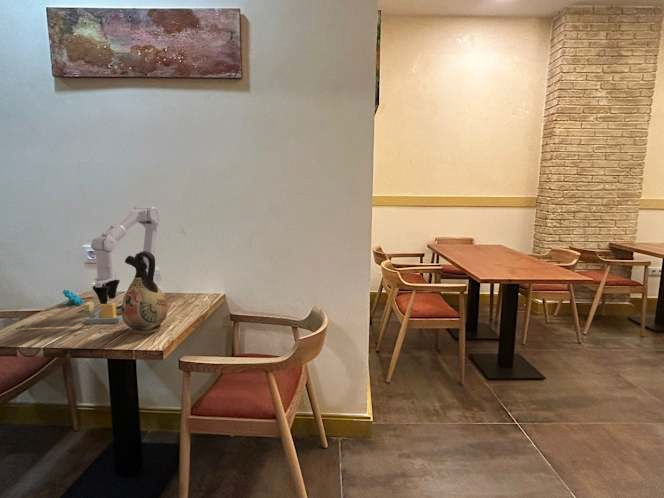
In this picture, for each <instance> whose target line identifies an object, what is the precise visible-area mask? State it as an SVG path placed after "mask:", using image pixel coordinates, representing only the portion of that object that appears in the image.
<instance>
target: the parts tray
mask: <svg viewBox="0 0 664 498" xmlns="http://www.w3.org/2000/svg"><path fill="white" fill-rule="evenodd" d="M121 310H122V308H121V309H116V315H119V316H118V317H116V318H101V310H99V311H97V312H96V313H94V314H90V316H89V317H87V318H85V324H86V325H85V326H86V327H87V326H92V325H95V324H114V325H115V326H116V325H117V326H118V325H120V324H119V323H121V322H122V321H124V320H123V318H122V311H121ZM87 324H88V325H87ZM91 324H92V325H91Z"/></svg>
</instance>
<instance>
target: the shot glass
mask: <svg viewBox="0 0 664 498" xmlns="http://www.w3.org/2000/svg"><path fill="white" fill-rule="evenodd" d="M95 282H96V281H95ZM95 282H91V283H90V286H91V292H92V298H93V299H99V298H98V296H97V294H96V292H95V291H94V290H93V286H95ZM104 285H105V284H104Z"/></svg>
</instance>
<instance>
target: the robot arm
mask: <svg viewBox="0 0 664 498" xmlns="http://www.w3.org/2000/svg"><path fill="white" fill-rule="evenodd" d="M160 217H161V212H160V211H159V209H158V208H157V207H156V206H138V205H135V206H134V207H133V208H131V209H130V212H129V214H128V215H127V216H126V217H125V218H124V219H123V220H122V221H120V222H119V224H111V225H110V228H108V229H107V230H106V231H105V232H103V233H101V235H100V236H96V237H94V238H93V239H92V241H91V244H90V247H91V250H93V253H94V255H95V262H96V263H95V264H96V272H97V273H96V275H97V277H95V278H94V281H95V286H93V290H94V291H95V292H96V294H97V296H98V298H97V299H98V301H99V303H100V305H101V304H107V302H109V301H108V299H115V298H116V294H117V290H118V286H119V284H120V282H121V281H120V279H118V277H117V274H116V273H115V269H114V268H115V267H114V256H113V251H114V250H115V249H116V245H117V244H118V242H119V241H120V240H121V239H123V237H125V236H126V231H127V230H128V229H130V228H131V227H132V226H134V225H135V224H136V223H139V224H140V225H141V226H143V228H144V229H145V231H144V240H143V241H144V242H143V248H142V249H143V251H148V252H149V253H151V254H152V255H153V256H154V257H155V272H154V278H153V281H154V283H156V285H157V286H158V287H159V289H160V290H161V291H162V293H163V295H164V294H165V293H164V287H163V286H162V285H159V284H160V283H161V281H162V275H161V269H160V268H159V267H158V266H157V263H156V261H157V253H158V252H157V251H158V244H159V232H160V230H159V229H160V219H161V218H160ZM143 259H144V261H145V263H146V265H147V269H146V272H147V275H148V268H149V262H148V259H147V258H146V257H143ZM135 276H136V273H135V274H134V277H135ZM104 284H105V285H104ZM164 296H165V295H164Z"/></svg>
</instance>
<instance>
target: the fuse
mask: <svg viewBox="0 0 664 498" xmlns="http://www.w3.org/2000/svg"><path fill="white" fill-rule="evenodd" d="M116 306H117V303H116V302H112V303H107V304H101V303H100V305H99V307H100V309H101V315H100V318H118V317H117V315H118V314H116V310H117V308H116Z"/></svg>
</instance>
